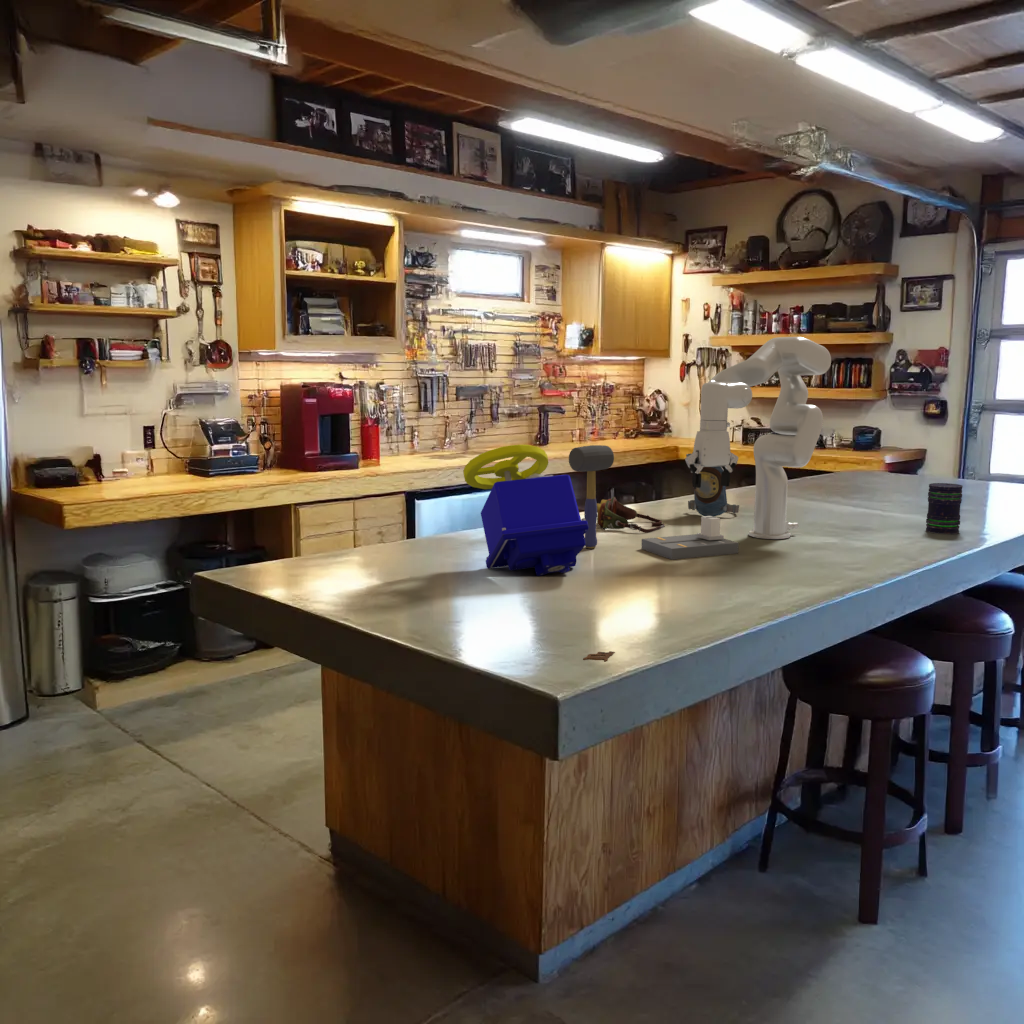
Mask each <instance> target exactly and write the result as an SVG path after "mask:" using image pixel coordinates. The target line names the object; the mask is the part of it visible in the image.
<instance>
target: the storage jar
mask: <svg viewBox="0 0 1024 1024" xmlns="http://www.w3.org/2000/svg"><path fill="white" fill-rule="evenodd" d="M963 488H964V487H963V485H962V484H957V483H947V482H946V483H945V482H944V483H943V482H942V483H940V482H935V483H929V484H928V492H927V496H928V497H927V502H928V503H927V505H928V506H927V513H926V520H925V523H926V524H925V525H926V527H925V532H928V533H933V534H940V535H957V534H959V533H960V526H961V504H962V501H963V499H962V498H963Z"/></svg>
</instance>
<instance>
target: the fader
mask: <svg viewBox="0 0 1024 1024" xmlns="http://www.w3.org/2000/svg"><path fill="white" fill-rule="evenodd" d="M700 522H701V523H700V533H699V532H697V533H696V534H697V537H699V538H703V539H706V540H719V539H725V538H724V534H721V518H720V517H718V516H714V517H713V516H703V515H701V520H700Z"/></svg>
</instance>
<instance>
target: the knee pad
mask: <svg viewBox="0 0 1024 1024" xmlns="http://www.w3.org/2000/svg"><path fill="white" fill-rule="evenodd" d="M691 454H693V452H692V453H686V455H685V456H686V457H688V456H689V455H691ZM686 457H685V458H686ZM692 462H693V461H692ZM730 462H731V458H730ZM693 465H694V464H693ZM736 465H738V462H737V463H736ZM722 472H723V469H722V468H721V466H717V467H703V469H702V470H701V471H700V473H699V474H701V487H700V488H697V487H693V489H694V490H693V493H694V495H693V497H694V499H690V500H688V501H687V507H688V510H689V511H690V510H692V511H697V512H698V514H699V515H701V516H713V517H718V516H722V514H724V513H732V514H738V513H739V511H740V510H739V509H740V505H739V504H730V503H728V498H727V489H726V487H727V486H722V485H721V473H722Z"/></svg>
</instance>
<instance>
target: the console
mask: <svg viewBox="0 0 1024 1024" xmlns="http://www.w3.org/2000/svg"><path fill="white" fill-rule="evenodd" d="M641 550H643V551H646V552H649V553H652V554H655V555H657V556H660V557H664V558H667V559H669V560H681V559H690V558H702V557H703V558H704V557H709V556H710V557H712V556H713V557H714V556H720V555H721V556H723V555H733V554H739V542H736V541H735V540H734V541H733V540H731V539H726V538H724V539H719V540H706V539H703V538H699V537H697V533H695V534H694V533H693V534H683V535H681V534H680V535H670V536H660V537H659V536H657V537H648V538H641Z"/></svg>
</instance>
